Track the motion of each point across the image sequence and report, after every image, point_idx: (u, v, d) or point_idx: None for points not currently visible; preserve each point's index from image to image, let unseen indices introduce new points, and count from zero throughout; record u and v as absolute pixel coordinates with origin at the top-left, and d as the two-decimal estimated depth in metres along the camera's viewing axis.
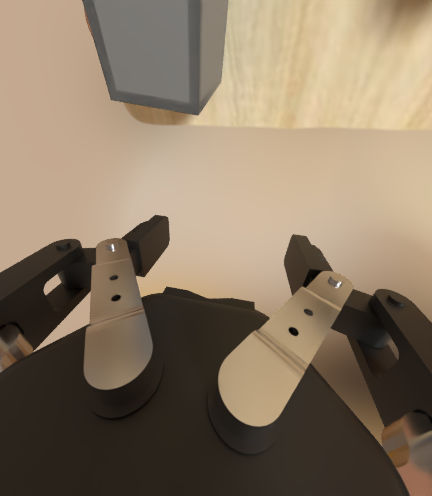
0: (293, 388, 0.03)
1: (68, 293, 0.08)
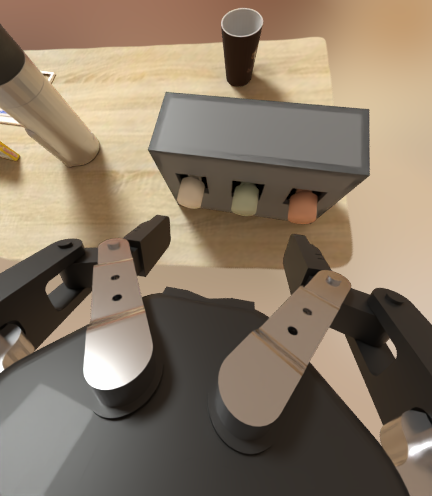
0: (293, 388, 0.03)
1: (69, 292, 0.08)
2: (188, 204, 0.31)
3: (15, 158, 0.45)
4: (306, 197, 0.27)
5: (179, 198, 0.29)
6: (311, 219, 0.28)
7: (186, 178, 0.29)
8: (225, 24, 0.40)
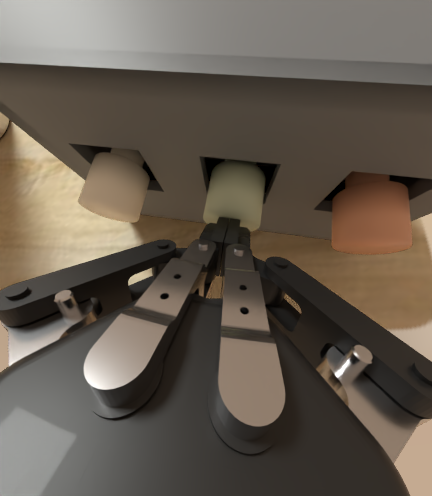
0: (278, 358, 0.04)
1: None
2: (113, 215, 0.15)
3: None
4: (387, 194, 0.11)
5: (82, 202, 0.13)
6: (394, 248, 0.12)
7: (97, 156, 0.13)
8: None
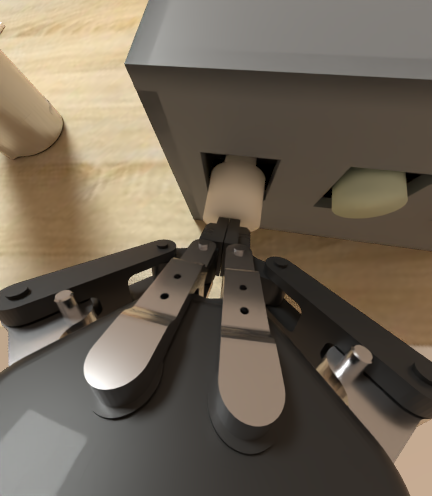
0: (278, 358, 0.04)
1: None
2: None
3: None
4: None
5: (211, 213, 0.12)
6: None
7: (227, 164, 0.12)
8: None
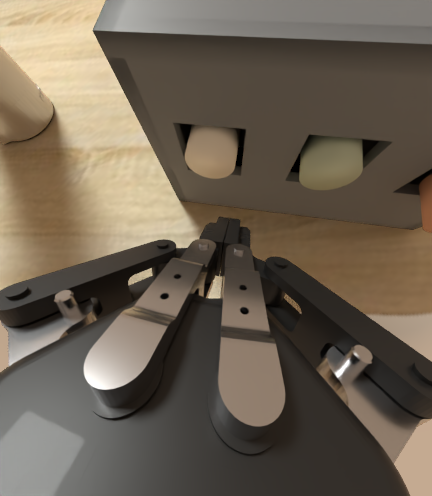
0: (278, 358, 0.04)
1: None
2: (207, 169, 0.15)
3: None
4: None
5: (190, 150, 0.14)
6: None
7: None
8: None
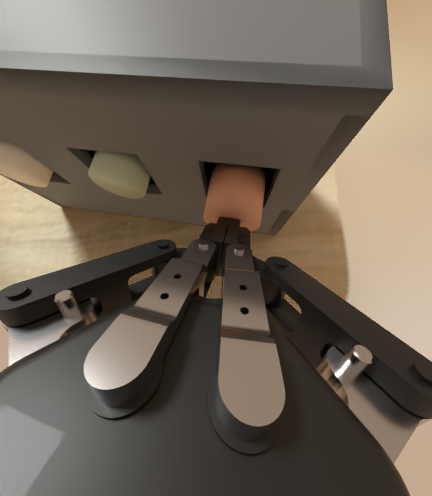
0: (278, 358, 0.04)
1: None
2: (23, 178, 0.16)
3: None
4: (234, 171, 0.12)
5: None
6: (251, 223, 0.13)
7: None
8: None
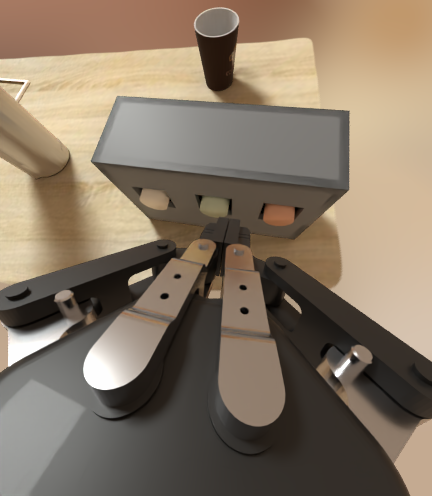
0: (278, 358, 0.04)
1: None
2: (154, 206, 0.28)
3: None
4: None
5: (141, 198, 0.26)
6: (289, 220, 0.25)
7: None
8: (199, 25, 0.37)
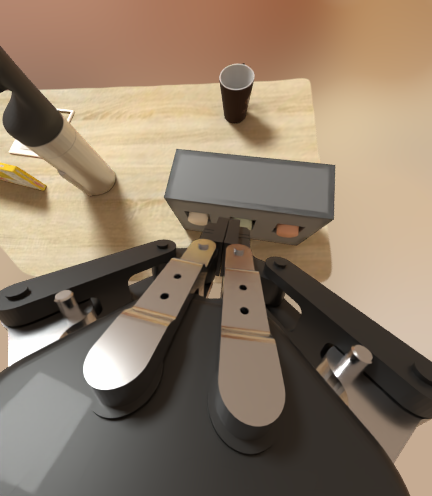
0: (278, 358, 0.04)
1: None
2: (196, 223, 0.39)
3: (43, 188, 0.52)
4: None
5: (190, 218, 0.37)
6: (294, 234, 0.36)
7: None
8: (223, 76, 0.47)
